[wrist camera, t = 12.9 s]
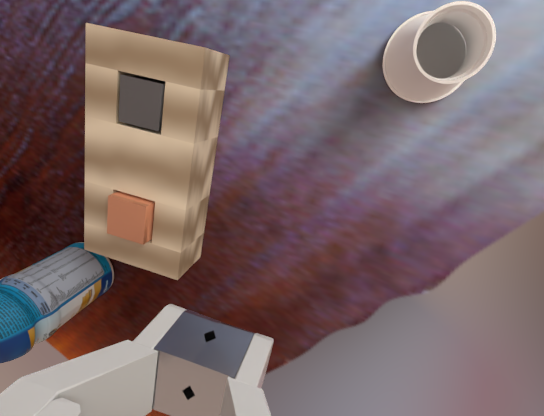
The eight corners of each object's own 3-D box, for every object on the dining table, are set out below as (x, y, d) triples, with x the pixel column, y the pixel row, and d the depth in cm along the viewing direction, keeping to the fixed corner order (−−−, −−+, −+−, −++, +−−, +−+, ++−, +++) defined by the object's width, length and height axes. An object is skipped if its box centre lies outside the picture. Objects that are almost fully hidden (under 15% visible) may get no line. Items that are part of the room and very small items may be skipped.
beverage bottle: (110, 241, 46) (-55, 337, 28) (122, 295, 49) (-23, 416, 30) (59, 238, 48) (-126, 325, 30) (73, 290, 51) (-91, 401, 32)
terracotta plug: (139, 183, 40) (108, 195, 35) (173, 192, 40) (145, 206, 35) (137, 216, 42) (106, 233, 37) (169, 226, 41) (143, 244, 36)
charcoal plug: (152, 77, 37) (120, 74, 32) (189, 86, 37) (162, 84, 32) (150, 118, 39) (118, 121, 34) (185, 126, 38) (158, 131, 33)
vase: (488, 27, 29) (547, -5, 20) (446, 113, 32) (481, 120, 23) (403, 2, 30) (422, -40, 21) (369, 88, 33) (373, 84, 24)
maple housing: (126, 33, 37) (85, 22, 31) (229, 55, 35) (205, 47, 30) (117, 230, 45) (84, 249, 40) (200, 256, 44) (177, 280, 38)
